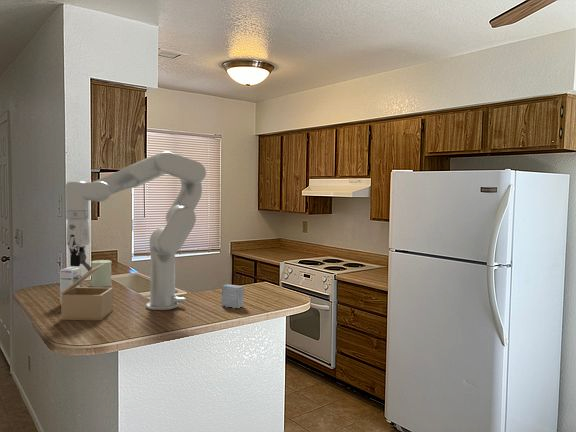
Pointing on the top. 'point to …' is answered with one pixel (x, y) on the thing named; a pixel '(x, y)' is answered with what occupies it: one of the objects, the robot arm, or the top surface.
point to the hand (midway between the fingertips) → (77, 264)
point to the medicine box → (232, 296)
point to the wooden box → (86, 303)
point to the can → (101, 274)
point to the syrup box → (69, 278)
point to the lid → (90, 270)
